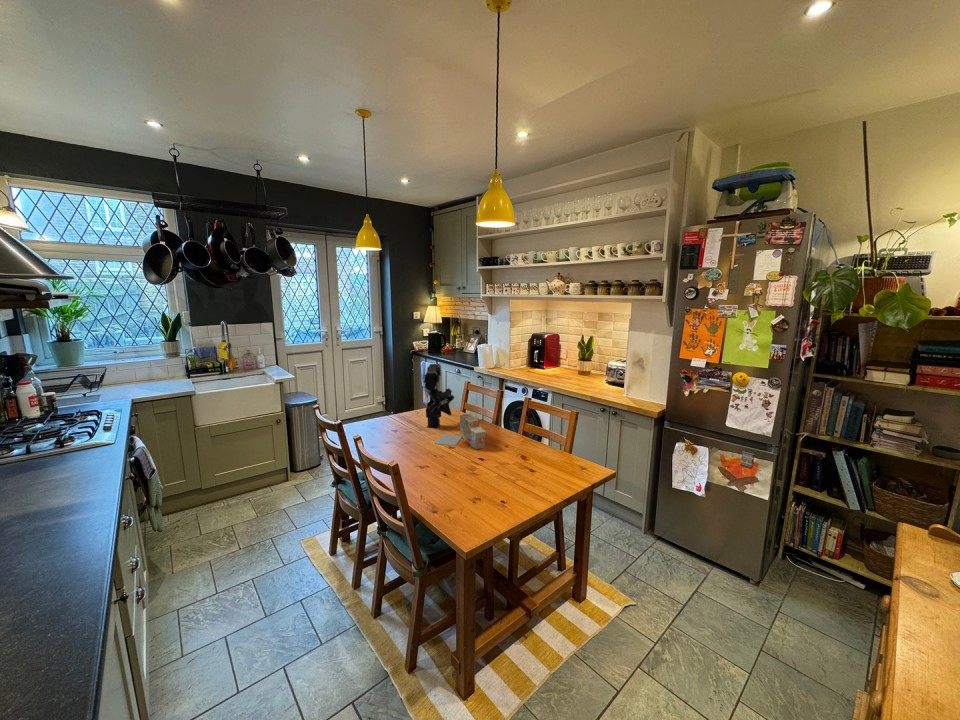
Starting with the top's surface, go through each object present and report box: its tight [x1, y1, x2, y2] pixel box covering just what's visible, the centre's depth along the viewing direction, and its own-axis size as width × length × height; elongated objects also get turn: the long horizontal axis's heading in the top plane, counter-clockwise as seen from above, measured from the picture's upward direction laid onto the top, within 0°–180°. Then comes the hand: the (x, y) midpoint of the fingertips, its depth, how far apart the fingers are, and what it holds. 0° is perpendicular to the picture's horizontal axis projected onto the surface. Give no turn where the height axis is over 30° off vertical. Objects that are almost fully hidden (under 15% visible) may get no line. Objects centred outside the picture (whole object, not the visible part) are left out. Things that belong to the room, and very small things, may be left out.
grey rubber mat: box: [434, 433, 462, 447], centre depth 215 cm, size 12×14×1 cm
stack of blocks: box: [459, 413, 487, 450], centre depth 212 cm, size 21×6×12 cm, turn 25°
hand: (450, 415), depth 216 cm, fingers closed
